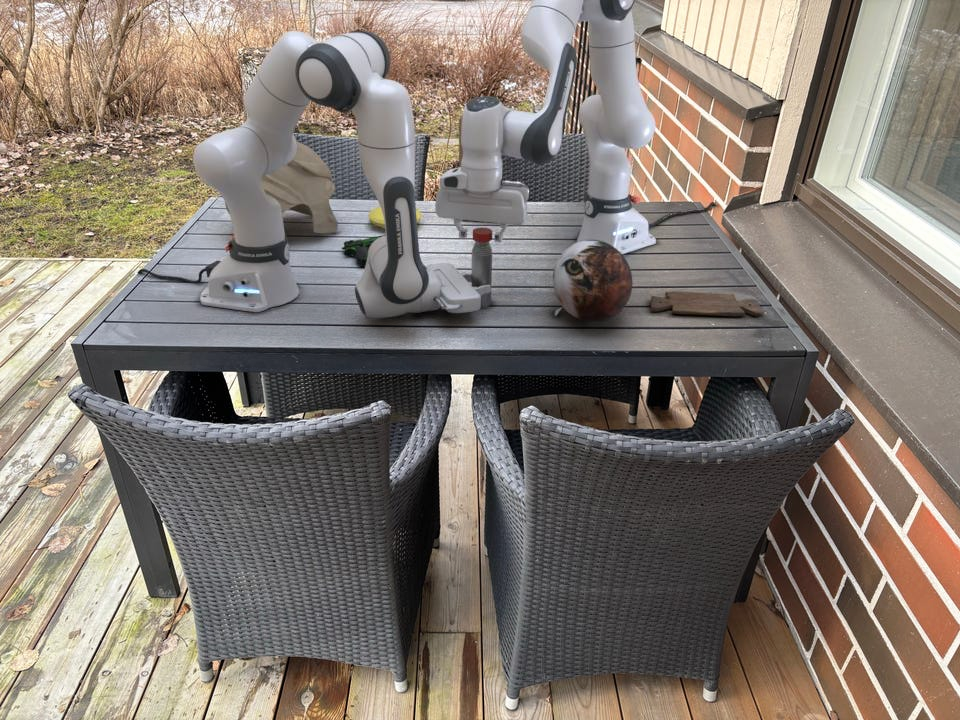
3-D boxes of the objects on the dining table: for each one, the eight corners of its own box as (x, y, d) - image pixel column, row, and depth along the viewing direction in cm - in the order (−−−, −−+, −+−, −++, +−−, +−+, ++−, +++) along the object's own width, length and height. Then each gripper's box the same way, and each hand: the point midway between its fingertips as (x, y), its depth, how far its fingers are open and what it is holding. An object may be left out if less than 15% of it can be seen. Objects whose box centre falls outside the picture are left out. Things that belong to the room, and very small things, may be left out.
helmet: (351, 239, 203) (345, 131, 188) (249, 258, 188) (233, 142, 173) (313, 212, 222) (305, 112, 207) (217, 227, 207) (201, 120, 192)
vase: (376, 214, 219) (375, 191, 216) (426, 217, 218) (426, 194, 214) (362, 232, 206) (360, 208, 202) (415, 235, 204) (415, 212, 201)
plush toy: (529, 271, 171) (588, 211, 162) (582, 317, 175) (643, 261, 167) (526, 311, 151) (593, 245, 143) (586, 361, 156) (655, 300, 148)
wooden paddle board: (645, 296, 172) (651, 316, 164) (646, 290, 171) (652, 309, 163) (754, 299, 171) (766, 319, 163) (755, 293, 170) (767, 312, 162)
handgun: (354, 259, 182) (336, 238, 193) (354, 270, 184) (336, 248, 195) (413, 250, 189) (392, 230, 200) (413, 260, 190) (392, 240, 201)
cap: (495, 240, 159) (496, 232, 158) (478, 243, 157) (478, 235, 156) (486, 234, 162) (486, 226, 161) (469, 237, 160) (469, 229, 159)
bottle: (492, 300, 169) (494, 231, 161) (488, 309, 165) (490, 238, 157) (473, 298, 170) (474, 229, 161) (468, 306, 166) (469, 236, 157)
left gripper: (442, 297, 151) (502, 287, 155) (414, 261, 167) (469, 254, 172) (443, 323, 154) (501, 313, 159) (415, 286, 171) (469, 278, 175)
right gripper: (532, 178, 153) (528, 239, 160) (440, 170, 158) (441, 229, 165) (526, 186, 148) (523, 249, 155) (432, 178, 152) (433, 239, 159)
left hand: (484, 282), depth 165 cm, fingers closed on bottle, 5 cm apart
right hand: (480, 239), depth 160 cm, fingers open, 7 cm apart
